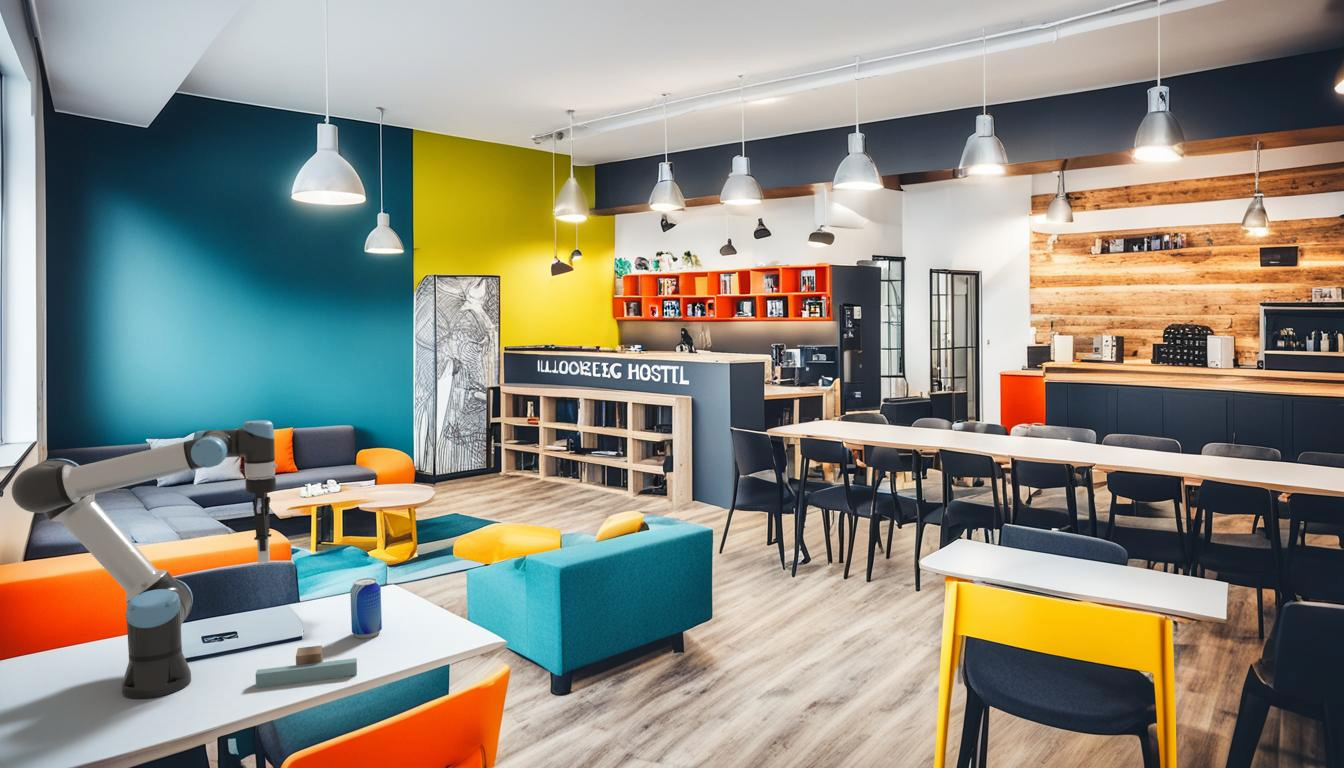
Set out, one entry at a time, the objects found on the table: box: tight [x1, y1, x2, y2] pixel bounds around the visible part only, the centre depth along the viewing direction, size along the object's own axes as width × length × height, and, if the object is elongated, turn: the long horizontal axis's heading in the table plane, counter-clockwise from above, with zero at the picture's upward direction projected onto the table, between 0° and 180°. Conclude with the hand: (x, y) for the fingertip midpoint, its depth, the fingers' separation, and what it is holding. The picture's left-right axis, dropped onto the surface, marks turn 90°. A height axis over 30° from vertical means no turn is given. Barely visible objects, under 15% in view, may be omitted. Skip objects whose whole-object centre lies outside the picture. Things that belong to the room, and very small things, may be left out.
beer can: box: [350, 577, 383, 639], centre depth 258 cm, size 8×8×16 cm
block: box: [295, 645, 324, 665], centre depth 230 cm, size 6×6×6 cm
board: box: [255, 657, 358, 688], centre depth 226 cm, size 24×3×4 cm, turn 108°
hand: (263, 561), depth 241 cm, fingers closed
